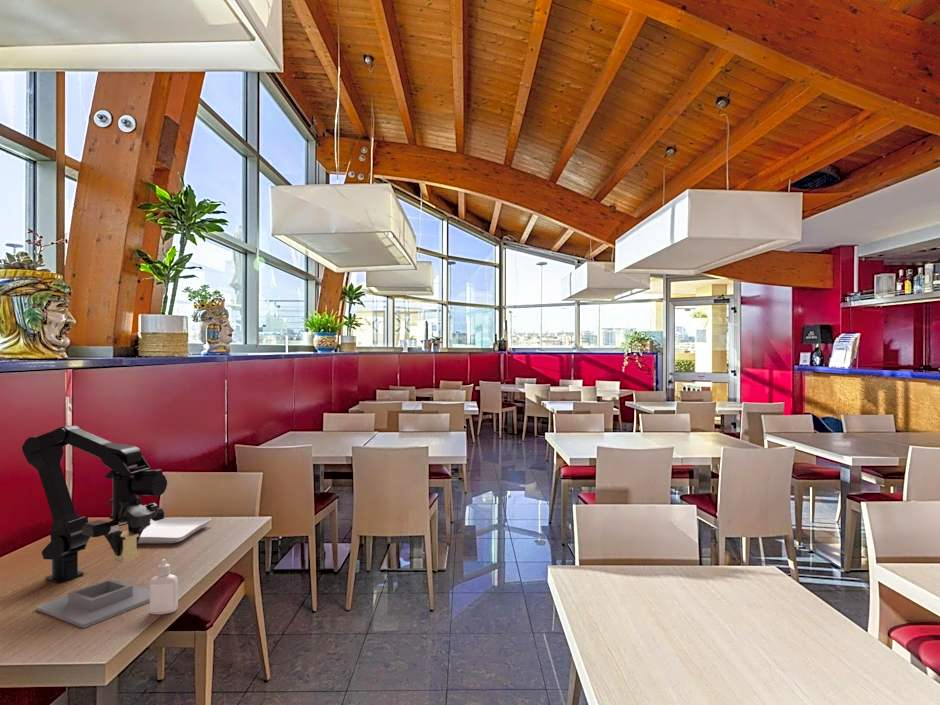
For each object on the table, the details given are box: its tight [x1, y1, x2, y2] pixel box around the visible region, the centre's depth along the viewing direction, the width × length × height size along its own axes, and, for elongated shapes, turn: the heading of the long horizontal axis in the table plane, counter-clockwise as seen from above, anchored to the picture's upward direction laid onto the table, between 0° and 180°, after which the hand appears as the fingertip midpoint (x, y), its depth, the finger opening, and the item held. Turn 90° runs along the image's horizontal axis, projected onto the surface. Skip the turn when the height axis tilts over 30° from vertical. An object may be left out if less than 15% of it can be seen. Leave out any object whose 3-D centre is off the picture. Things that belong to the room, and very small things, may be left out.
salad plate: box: [127, 517, 212, 544], centre depth 184 cm, size 21×21×3 cm
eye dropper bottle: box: [149, 558, 179, 615], centre depth 128 cm, size 4×6×12 cm
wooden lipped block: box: [113, 530, 139, 564], centre depth 147 cm, size 6×4×7 cm, turn 63°
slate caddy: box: [35, 578, 150, 629], centre depth 133 cm, size 20×18×3 cm
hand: (125, 553), depth 147 cm, fingers closed on wooden lipped block, 3 cm apart
